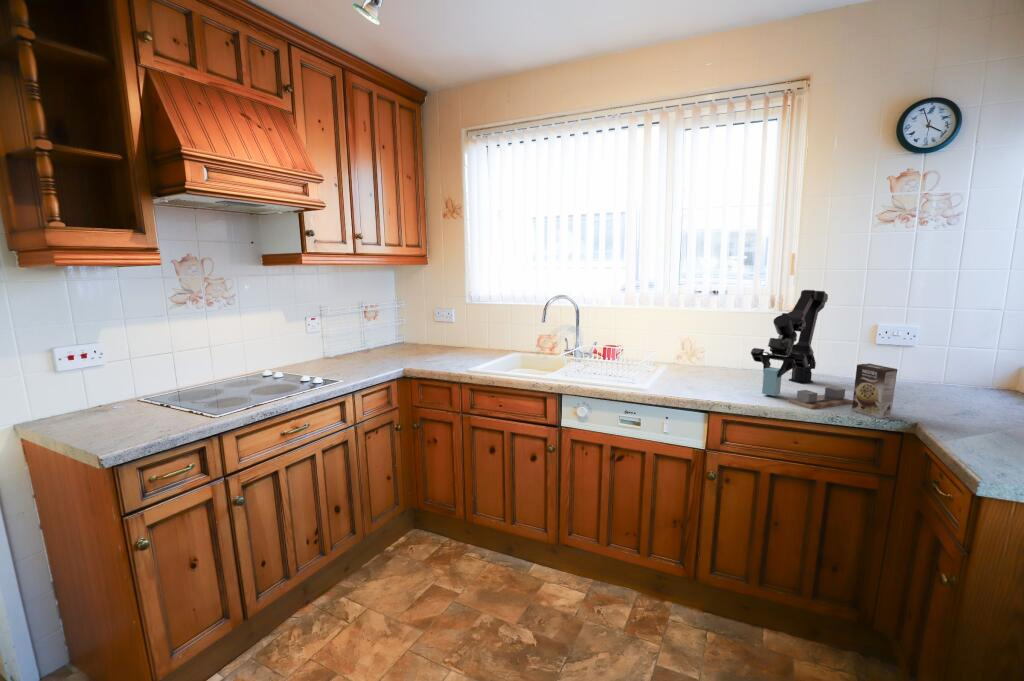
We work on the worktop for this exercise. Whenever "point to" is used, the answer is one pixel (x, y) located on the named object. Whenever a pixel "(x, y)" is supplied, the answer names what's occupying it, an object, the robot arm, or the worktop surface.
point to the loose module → (771, 381)
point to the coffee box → (874, 390)
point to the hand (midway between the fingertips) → (771, 375)
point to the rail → (821, 399)
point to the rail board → (821, 403)
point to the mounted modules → (812, 396)
